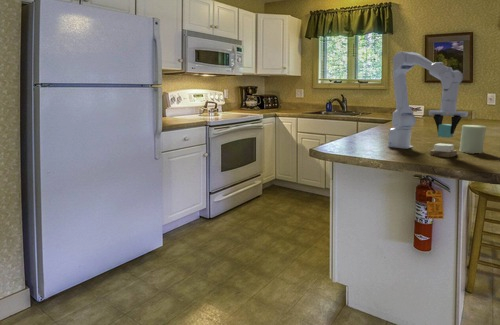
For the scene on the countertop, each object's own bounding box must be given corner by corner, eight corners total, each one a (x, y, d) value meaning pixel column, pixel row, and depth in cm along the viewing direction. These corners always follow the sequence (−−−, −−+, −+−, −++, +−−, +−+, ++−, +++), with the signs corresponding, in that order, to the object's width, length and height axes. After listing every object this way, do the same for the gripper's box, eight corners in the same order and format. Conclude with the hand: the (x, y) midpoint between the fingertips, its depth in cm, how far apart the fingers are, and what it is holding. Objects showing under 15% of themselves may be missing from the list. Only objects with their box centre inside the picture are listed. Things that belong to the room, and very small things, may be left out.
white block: (433, 150, 156) (434, 144, 156) (438, 148, 160) (438, 143, 160) (449, 152, 152) (449, 146, 152) (453, 150, 156) (453, 144, 156)
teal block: (437, 136, 155) (438, 124, 154) (441, 135, 158) (442, 123, 157) (449, 137, 152) (450, 125, 151) (452, 136, 155) (454, 124, 154)
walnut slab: (429, 156, 157) (430, 150, 156) (436, 153, 163) (437, 148, 162) (450, 158, 151) (450, 152, 151) (456, 156, 157) (457, 150, 156)
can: (483, 154, 158) (486, 126, 156) (458, 152, 163) (461, 125, 160) (482, 151, 166) (486, 124, 163) (459, 149, 171) (462, 123, 168)
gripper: (427, 100, 154) (424, 132, 157) (465, 101, 144) (461, 135, 147) (433, 99, 159) (430, 130, 162) (471, 100, 149) (467, 133, 152)
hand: (445, 133), depth 155 cm, fingers closed on teal block, 4 cm apart
